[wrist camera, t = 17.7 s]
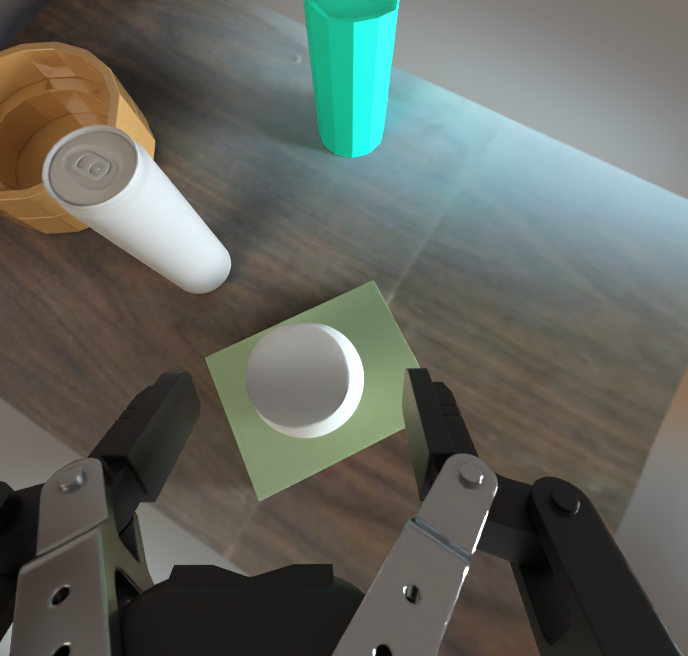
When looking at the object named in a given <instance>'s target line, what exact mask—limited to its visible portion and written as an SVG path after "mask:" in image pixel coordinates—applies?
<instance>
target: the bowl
mask: <svg viewBox="0 0 688 656" xmlns="http://www.w3.org/2000/svg"><path fill="white" fill-rule="evenodd" d="M92 125H108V126H112V127H115V128H118V129H121V130H122V131H124V132H125V133H126V134H128V135H129V136H130V137H131V138H132V139H133V140H134V141H135V142H137V143H138V144H139V145H141V146H142V147H143V148H144V149H145V151H146V152H147V153H148V154H149V156H150V157H151V158H152V159H153V160H154V151H155V139H154V137H153V134H152V132H151V129H150V127H149V124H148V122H147V119H146V118H145V116H144V115H143V113H142V112H141V111H140V109H139V108H138V106H137V105H136V104H135V102H134V101H133V100H132V98H131V97H130V95H129V94H128V93H127V91H126V90H125V88H124V87H123V86H122V84H121V83H120V81H119V80H118V79H117V77H116V76H115V75H114V73H113V72H112V70H111V69H110V68H109V67H108V66H107V65H105V64H104V63H103V62H102V61H100V60H99V59H98V58H97V57H96V56H94V55H93V54H92V53H91V52H90V51H88V50H85V49H82V48H78V47H75V46H71V45H67V44H64V43H60V42H43V43H27V44H20V45H17V46H15V47H12V48H9V49H6V50H3V51H1V52H0V215H1V216H3V217H5V218H7V219H9V220H11V221H12V222H14V223H16V224H19V225H22V226H24V227H27V228H30V229H33V230H36V231H39V232H42V233H45V234H50V233H67V232H79V231H82V230H84V229H87V228H89V226H87V225H86V224H84V223H83V222H81V221H80V220H78V219H77V218H75V217H74V216H72V215H71V214H70V213H69V212H67V211H66V210H65V209H63V208H62V207H61V205H60V204H59V203H58V202H57V201H56V200H54V199H53V198H52V197H51V196H50V195H49V193H48V192H47V190H46V189H45V187H44V184H43V180H42V168H43V164H44V161H45V159H46V156H47V154H48V153H49V151H50V150H51V149H52V147H53V146H54V145H55V144H56V143H57V142H58V141H59V140H60V139H61V138H62V137H64V136H65V135H67V134H69V133H70V132H72V131H74V130H77V129H80V128H82V127H85V126H92Z"/></svg>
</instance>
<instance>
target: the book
mask: <svg viewBox="0 0 688 656" xmlns="http://www.w3.org/2000/svg"><path fill="white" fill-rule="evenodd" d="M303 322H312V323H319V324H323V325H327V326H329V327H331V328H333V329H335V330H337V331H339V332H340V333H341V334H343V335H344V336H345V337H346V338H347V339H348V340H349V341H350V342H351V343H352V345H353V346H354V347H355V349H356V351H357V353H358V355H359V357H360V360H361V363H362V366H363V371H364V385H363V392H362V396H361V399H360V401H359V403H358V406H357V408H356V409H355V411H354V412H353V414H352V415H351V416H350V418H349V419H348V420H347V421H346V422H345V423H344V424H342V425H341V426H340V427H338V428H337V429H336V430H334V431H332V432H330V433H328V434H325V435H322V436H319V437H314V438H296V437H291V436H288V435H285V434H282V433H280V432H278V431H276V430H275V429H273V428H272V427H270V426H269V425H268V424H267V423H266V422H265V421H264V420H263V419H262V418H261V417H260V415H259V414H258V412H257V411H256V409H255V407H254V406H253V404H252V402H251V400H250V398H249V396H248V393H247V390H246V384H245V370H246V365H247V361H248V358H249V356H250V353H251V352H252V350H253V348H254V347H255V345H256V344H257V343H258V341H259V340H260V339H261V338H262V337H263V336H265V335H266V334H267V333H268V332H270V331H272V330H273V329H275V328H277V327H279V326H282V325H285V324H289V323H303ZM205 360H206V362H207V365H208V368H209V370H210V373H211V376H212V378H213V381H214V383H215V386H216V389H217V391H218V394H219V397H220V399H221V402H222V405H223V407H224V410H225V413H226V415H227V418H228V421H229V423H230V426H231V428H232V431H233V434H234V436H235V439H236V442H237V444H238V447H239V450H240V452H241V455H242V458H243V460H244V463H245V466H246V468H247V471H248V473H249V476H250V479H251V481H252V484H253V487H254V489H255V492H256V495H257V497H258V500H259V501H261V500H263V499H265V498H267V497H269V496H271V495H273V494H275V493H277V492H279V491H281V490H283V489H285V488H287V487H289V486H291V485H293V484H295V483H297V482H299V481H301V480H303V479H305V478H307V477H309V476H311V475H313V474H315V473H316V472H318V471H320V470H322V469H324V468H326V467H328V466H330V465H332V464H334V463H336V462H338V461H340V460H342V459H344V458H346V457H348V456H350V455H352V454H354V453H356V452H358V451H360V450H362V449H364V448H366V447H368V446H370V445H372V444H374V443H376V442H378V441H380V440H382V439H384V438H386V437H387V436H389V435H391V434H393V433H395V432H397V431H399V430H401V429H403V428H405V422H404V417H403V411H402V396H403V386H404V376H405V370H406V368H420V367H419V365H418V363H417V361H416V359H415V357H414V355H413V353H412V352H411V350H410V348H409V346H408V344H407V342H406V340H405V338H404V337H403V335H402V333H401V331H400V329H399V327H398V325H397V323H396V322H395V320H394V318H393V316H392V314H391V312H390V310H389V308H388V307H387V305H386V303H385V301H384V299H383V297H382V295H381V293H380V292H379V290H378V288H377V286H376V284H375V282H374V280H372V281H370V282H368V283H366V284H363V285H361V286H359V287H357V288H355V289H353V290H350V291H348V292H346V293H344V294H342V295H340V296H337V297H335V298H333V299H331V300H329V301H327V302H324V303H322V304H320V305H318V306H316V307H314V308H311V309H309V310H307V311H305V312H303V313H301V314H298V315H296V316H294V317H292V318H290V319H288V320H285V321H283V322H281V323H279V324H277V325H275V326H272V327H270V328H268V329H266V330H264V331H262V332H259V333H257V334H255V335H253V336H251V337H249V338H246V339H244V340H242V341H240V342H238V343H236V344H233V345H231V346H229V347H227V348H225V349H223V350H220V351H218V352H216V353H214V354H212V355H209V356H207V357H205Z"/></svg>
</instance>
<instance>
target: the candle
mask: <svg viewBox="0 0 688 656" xmlns="http://www.w3.org/2000/svg"><path fill="white" fill-rule="evenodd" d="M398 7H399V0H304V9H305V17H306V27H307V35H308V44H309V52H310V61H311V69H312V78H313V86H314V95H315V103H316V112H317V120H318V129H319V134H320V137H321V139H322V142H323V145H324V146H325V147H326V148H328V149H329V150H330V151H331V152H333V153H334V154H335V155H339V156H344V157H350V158H354V157H358V156H361V155H365V154H369V153H370V152H371V151H372V150H373V149H374V148H375V147H376V146H377V145H378V144H379V143H380V142H381V137H382V133H383V129H384V121H385V113H386V105H387V97H388V89H389V81H390V72H391V64H392V56H393V47H394V40H395V31H396V24H397V15H398Z"/></svg>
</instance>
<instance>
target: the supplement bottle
mask: <svg viewBox="0 0 688 656" xmlns="http://www.w3.org/2000/svg"><path fill="white" fill-rule="evenodd" d="M245 384H246V390H247V393H248V396H249V398H250V400H251V402H252V404H253V406H254V407H255V409H256V411H257V412H258V414H259V415H260V417H261V418H262V419H263V420H264V421H265V422H266V423H267V424H268V425H269V426H270V427H272V428H273V429H275V430H276V431H278V432H280V433H282V434H285V435H288V436H291V437H296V438H314V437H319V436H322V435H325V434H328V433H330V432H332V431H334V430H336V429H337V428H338V427H340V426H341V425H342V424H344V423H345V422H346V421H347V420H348V419H349V418H350V416H351V415H352V414H353V412H354V411H355V409H356V408H357V406H358V403H359V401H360V399H361V396H362V392H363V385H364V371H363V366H362V363H361V360H360V357H359V355H358V353H357V351H356V349H355V347H354V346H353V345H352V343H351V342H350V341H349V340H348V339H347V338H346V337H345V336H344V335H343V334H341V333H340V332H339V331H337V330H335V329H333V328H331V327H329V326H327V325H323V324H319V323H312V322H303V323H289V324H285V325H282V326H279V327H277V328H275V329H273V330H272V331H270V332H268V333H267V334H266V335H265V336H263V337H262V338H261V339H260V340H259V341H258V343H257V344H256V345H255V347H254V348H253V350H252V352H251V353H250V356H249V358H248V361H247V365H246V370H245Z"/></svg>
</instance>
